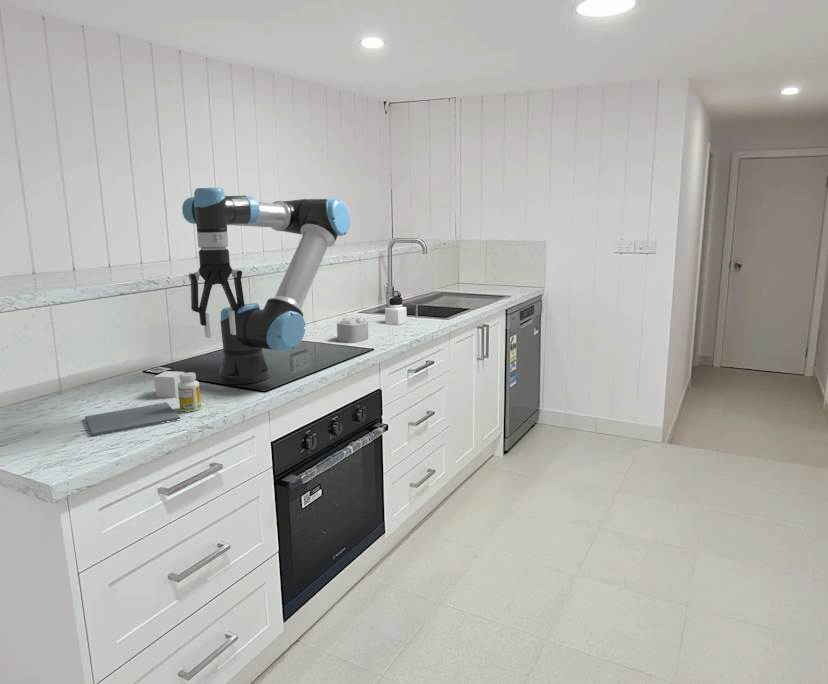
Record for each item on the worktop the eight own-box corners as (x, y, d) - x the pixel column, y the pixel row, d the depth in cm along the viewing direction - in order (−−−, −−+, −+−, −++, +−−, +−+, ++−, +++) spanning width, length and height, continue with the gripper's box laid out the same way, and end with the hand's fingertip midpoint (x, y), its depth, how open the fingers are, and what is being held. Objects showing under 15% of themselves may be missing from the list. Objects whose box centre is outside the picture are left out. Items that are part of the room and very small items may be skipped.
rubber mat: (166, 405, 173) (166, 402, 172) (180, 420, 160) (179, 417, 160) (85, 419, 162) (84, 416, 162) (92, 436, 150) (92, 433, 149)
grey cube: (156, 397, 181) (154, 376, 179) (167, 390, 186) (164, 371, 185) (176, 397, 180) (173, 377, 178) (186, 391, 186) (184, 371, 184)
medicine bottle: (407, 322, 286) (406, 296, 283) (398, 325, 280) (397, 298, 278) (393, 321, 290) (393, 295, 287) (385, 324, 284) (384, 297, 281)
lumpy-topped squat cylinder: (334, 341, 251) (333, 319, 249) (354, 335, 261) (353, 314, 259) (354, 343, 245) (353, 321, 243) (374, 337, 255) (374, 316, 254)
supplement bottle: (194, 404, 172) (191, 370, 170) (205, 408, 169) (202, 373, 167) (176, 409, 168) (172, 374, 166) (187, 413, 165) (183, 378, 163)
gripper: (179, 251, 157) (187, 342, 162) (254, 247, 167) (259, 333, 172) (172, 249, 163) (180, 337, 168) (244, 246, 173) (250, 329, 178)
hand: (220, 335), depth 170 cm, fingers open, 6 cm apart
